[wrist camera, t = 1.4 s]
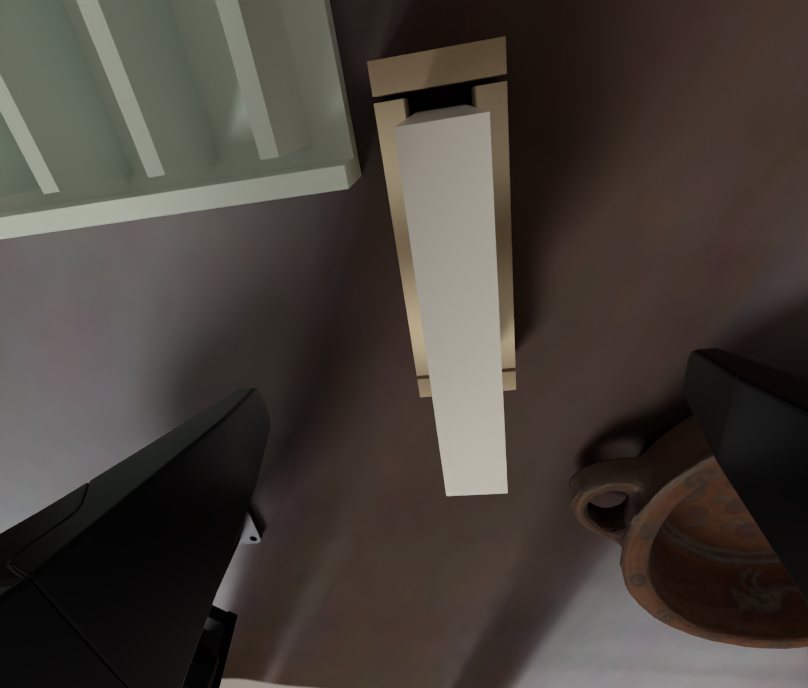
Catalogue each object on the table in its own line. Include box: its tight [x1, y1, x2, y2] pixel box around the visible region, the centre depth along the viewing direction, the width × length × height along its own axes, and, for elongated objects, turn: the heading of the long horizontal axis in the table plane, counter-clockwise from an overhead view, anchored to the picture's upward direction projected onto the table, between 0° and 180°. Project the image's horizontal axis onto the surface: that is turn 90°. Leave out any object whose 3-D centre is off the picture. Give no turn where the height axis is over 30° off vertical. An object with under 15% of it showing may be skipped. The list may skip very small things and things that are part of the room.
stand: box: [367, 36, 516, 397], centre depth 18 cm, size 13×4×2 cm, turn 9°
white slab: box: [394, 104, 508, 496], centre depth 15 cm, size 10×2×10 cm, turn 9°
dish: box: [569, 415, 808, 649], centre depth 23 cm, size 18×22×5 cm
